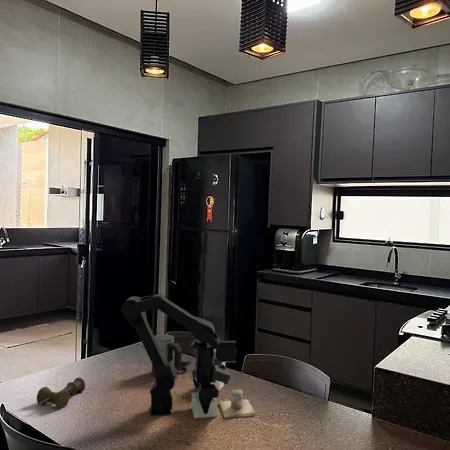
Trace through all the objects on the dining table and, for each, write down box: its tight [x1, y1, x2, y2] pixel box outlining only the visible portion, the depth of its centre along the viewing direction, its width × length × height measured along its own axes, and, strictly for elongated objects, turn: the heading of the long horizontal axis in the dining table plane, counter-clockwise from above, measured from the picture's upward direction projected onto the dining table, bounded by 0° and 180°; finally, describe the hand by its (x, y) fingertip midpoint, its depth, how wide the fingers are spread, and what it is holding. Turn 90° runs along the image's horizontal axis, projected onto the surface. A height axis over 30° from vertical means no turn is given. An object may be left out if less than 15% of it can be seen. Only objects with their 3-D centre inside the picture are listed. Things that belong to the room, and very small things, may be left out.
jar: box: [211, 351, 225, 392], centre depth 162 cm, size 9×8×12 cm
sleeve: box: [190, 392, 218, 419], centre depth 141 cm, size 7×7×5 cm
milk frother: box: [150, 334, 192, 377], centre depth 177 cm, size 14×16×15 cm
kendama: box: [36, 377, 86, 410], centre depth 147 cm, size 6×10×20 cm
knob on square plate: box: [218, 389, 256, 419], centre depth 143 cm, size 10×10×6 cm
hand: (204, 408), depth 141 cm, fingers closed on sleeve, 7 cm apart
